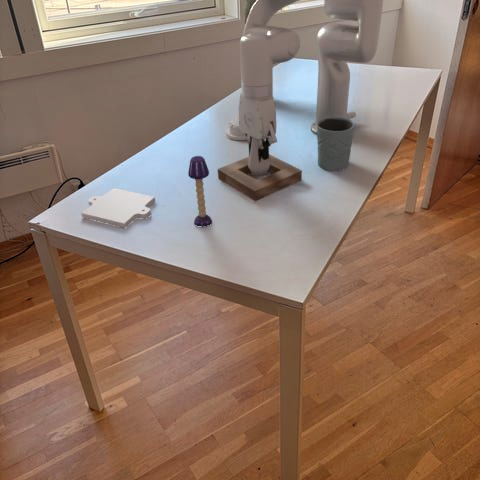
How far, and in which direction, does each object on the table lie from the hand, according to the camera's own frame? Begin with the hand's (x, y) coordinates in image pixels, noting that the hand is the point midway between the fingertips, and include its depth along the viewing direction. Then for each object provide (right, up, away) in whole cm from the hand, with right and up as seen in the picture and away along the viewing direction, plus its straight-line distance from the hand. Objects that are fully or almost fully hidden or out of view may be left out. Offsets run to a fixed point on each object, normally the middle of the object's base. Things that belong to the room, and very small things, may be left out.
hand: (259, 158), depth 126 cm
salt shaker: (0, -4, +3) cm, 5 cm away
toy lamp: (-14, -17, -12) cm, 25 cm away
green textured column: (+2, +30, +53) cm, 61 cm away
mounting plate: (-35, -14, -5) cm, 38 cm away
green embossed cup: (+21, 0, +9) cm, 23 cm away
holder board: (0, -5, +4) cm, 6 cm away
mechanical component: (-5, +12, +29) cm, 32 cm away
